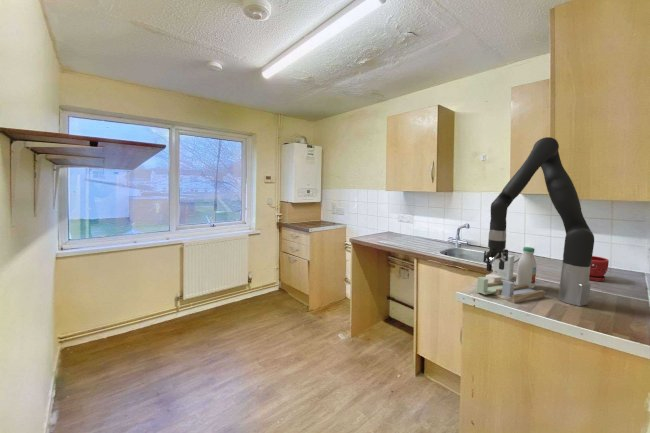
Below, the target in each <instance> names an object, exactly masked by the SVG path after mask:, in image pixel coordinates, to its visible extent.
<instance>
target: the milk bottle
mask: <svg viewBox="0 0 650 433" xmlns="http://www.w3.org/2000/svg"><path fill="white" fill-rule="evenodd" d="M522 250H523V251H522V252H523V253H522V255H521V256H520V258H519V260H518V264H517V270H516V279H515V281H516V282H515V285H517V286H520V285H529V288H530V289H534V288H535V284H536V276H537V261H536V258H535V255H534V253H535V248H534V247H529V246H524V247H523V249H522Z"/></svg>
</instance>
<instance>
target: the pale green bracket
mask: <svg viewBox="0 0 650 433" xmlns="http://www.w3.org/2000/svg"><path fill="white" fill-rule="evenodd" d="M502 287H503V285H498V286H492V287H488V279H486V277H484V276H478V277H477V282H476V288H475V292H478V293H480V294H482V295H490V294H491V293H496V289H501V288H502ZM491 295H492V294H491Z"/></svg>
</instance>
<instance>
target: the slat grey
mask: <svg viewBox="0 0 650 433" xmlns="http://www.w3.org/2000/svg"><path fill="white" fill-rule="evenodd" d="M502 281H503V287H502V293H500V295H502V296H505V297H507V298H510V299H511V295H516V294H522V293H527V292H533V291H536V290H535V289H533V288H527V289H521V290H515V291H514V285H515V282H514V283H513V282H510V281H507V280H502Z"/></svg>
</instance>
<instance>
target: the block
mask: <svg viewBox="0 0 650 433" xmlns="http://www.w3.org/2000/svg"><path fill="white" fill-rule="evenodd" d="M485 278H486V279H488V283H492V282H499V281H503V279H502V277H500V276H497V275H494V274H493V273H492V274H485Z"/></svg>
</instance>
